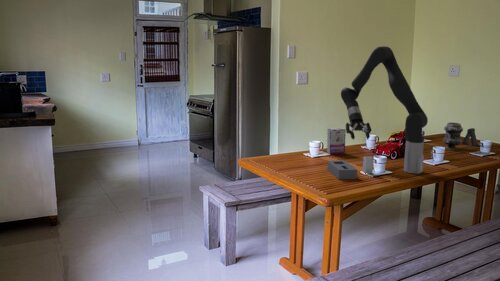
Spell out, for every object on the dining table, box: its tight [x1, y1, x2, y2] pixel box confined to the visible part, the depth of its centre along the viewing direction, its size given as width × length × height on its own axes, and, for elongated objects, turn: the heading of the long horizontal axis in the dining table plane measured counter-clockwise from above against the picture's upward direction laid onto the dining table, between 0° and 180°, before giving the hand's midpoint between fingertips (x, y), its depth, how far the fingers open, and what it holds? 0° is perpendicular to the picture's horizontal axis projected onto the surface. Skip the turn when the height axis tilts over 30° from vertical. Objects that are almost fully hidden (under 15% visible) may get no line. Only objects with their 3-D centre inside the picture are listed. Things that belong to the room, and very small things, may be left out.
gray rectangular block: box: [362, 155, 374, 175], centre depth 231 cm, size 4×4×9 cm
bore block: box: [326, 160, 358, 180], centre depth 229 cm, size 10×20×5 cm, turn 7°
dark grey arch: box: [461, 127, 479, 147], centre depth 305 cm, size 9×6×12 cm, turn 40°
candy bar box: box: [326, 127, 347, 155], centre depth 278 cm, size 11×5×16 cm, turn 105°
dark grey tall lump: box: [442, 121, 464, 151], centre depth 291 cm, size 12×12×18 cm
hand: (360, 138), depth 240 cm, fingers open, 8 cm apart
